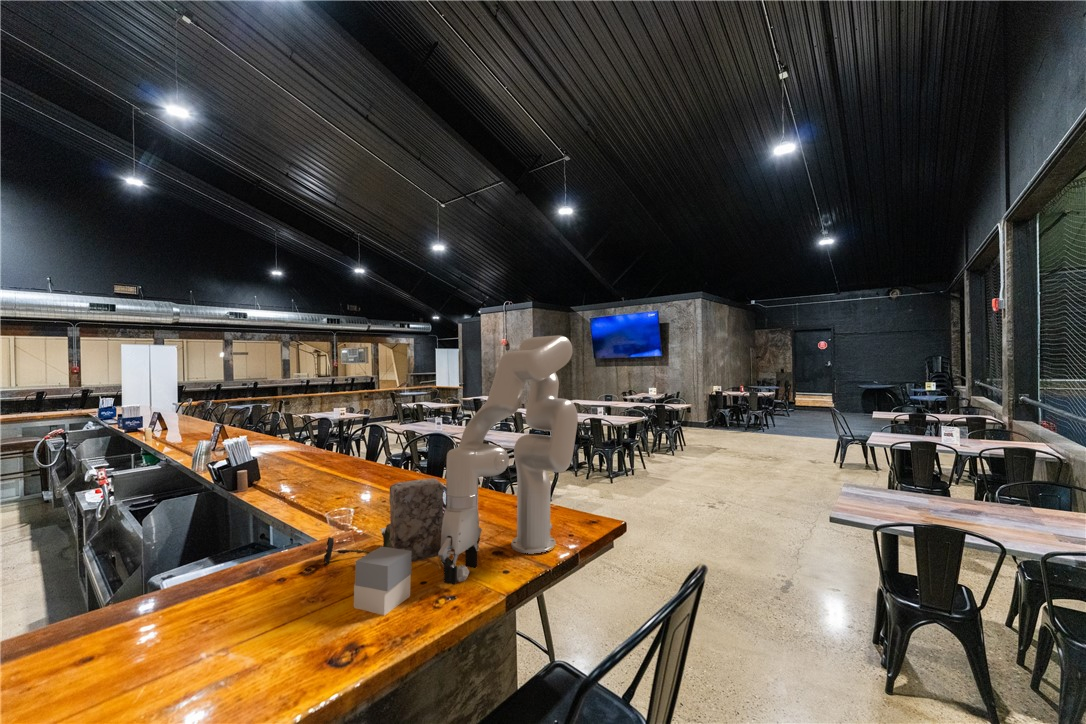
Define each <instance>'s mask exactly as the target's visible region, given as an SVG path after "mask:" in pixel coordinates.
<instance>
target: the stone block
mask: <svg viewBox="0 0 1086 724" xmlns="http://www.w3.org/2000/svg"><path fill="white" fill-rule="evenodd" d="M443 493H444V485H443V484H442V483H441V482H440V481H439V480H438V479H437V478H421V479H414V480H408V481H407V480H406V481H399V482H395V483H393V484H391V485H390V486H389V498H388V499H389V500H388V501H389V507H390V509H389V512H390V513H389V514H390V515H389V517H390V523H389V524H391V527H390V547H391V548H396V549H402V550H409V551H412V555H411V563H414V562H418V561H423V560H425V559H426V560H427V559H430V558H434V557H437V556H438V553H439V551H440V549H441V533H442V523H443V515H444V509H443V505H444V498H443ZM438 557H439V556H438Z"/></svg>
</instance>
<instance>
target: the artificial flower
mask: <svg viewBox="0 0 1086 724" xmlns="http://www.w3.org/2000/svg"><path fill="white" fill-rule="evenodd" d="M390 527H391V524H390V523H388V524H386V526H385V527H381V528H380V532H381V536H382V538H383V539H382V540H383V545H382V547H389V548H391V547H390ZM324 543H325V542H324ZM334 545H335V542H334V537H330V536H328V537H327V541H326V546H327V548H326V549H325V554H324V557H323V565H325V566H326V565H329V564H330V562H331V558H332V554H333V553H332V552H335V553H338V554H346V553H365V554H369V553H371V552H372V551H367V550H361V549H354V550H353V549H351V550H350V549H341V550H339V549H338V550H333V548H334ZM324 561H326V562H324Z"/></svg>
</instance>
